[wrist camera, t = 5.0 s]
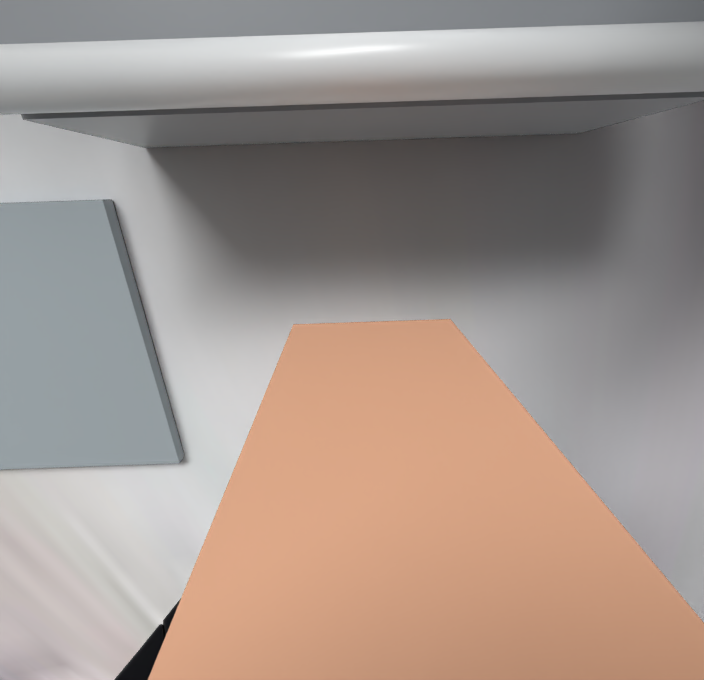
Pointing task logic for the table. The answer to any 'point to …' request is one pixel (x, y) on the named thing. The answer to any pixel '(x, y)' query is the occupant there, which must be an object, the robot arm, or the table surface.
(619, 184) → the table surface
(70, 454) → the mat
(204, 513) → the table surface
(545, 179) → the table surface
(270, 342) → the table surface
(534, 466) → the peach rectangular block
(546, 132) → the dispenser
